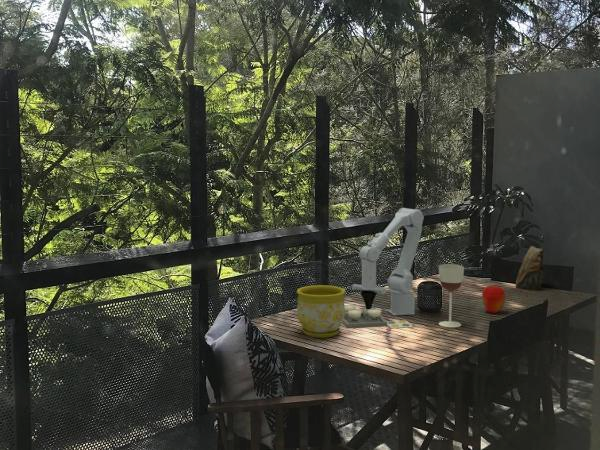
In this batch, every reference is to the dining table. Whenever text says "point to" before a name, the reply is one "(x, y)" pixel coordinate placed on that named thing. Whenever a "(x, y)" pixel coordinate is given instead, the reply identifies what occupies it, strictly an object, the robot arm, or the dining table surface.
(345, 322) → the button board
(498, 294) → the apple
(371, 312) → the button
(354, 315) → the button
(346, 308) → the button
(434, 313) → the dining table surface
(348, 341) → the dining table surface
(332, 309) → the flowerpot
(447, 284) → the wineglass
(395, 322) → the card
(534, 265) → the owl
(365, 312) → the button
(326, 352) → the dining table surface
